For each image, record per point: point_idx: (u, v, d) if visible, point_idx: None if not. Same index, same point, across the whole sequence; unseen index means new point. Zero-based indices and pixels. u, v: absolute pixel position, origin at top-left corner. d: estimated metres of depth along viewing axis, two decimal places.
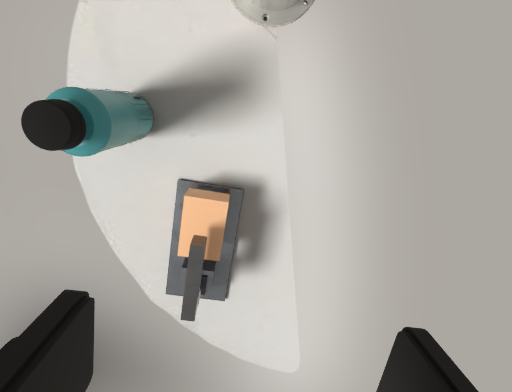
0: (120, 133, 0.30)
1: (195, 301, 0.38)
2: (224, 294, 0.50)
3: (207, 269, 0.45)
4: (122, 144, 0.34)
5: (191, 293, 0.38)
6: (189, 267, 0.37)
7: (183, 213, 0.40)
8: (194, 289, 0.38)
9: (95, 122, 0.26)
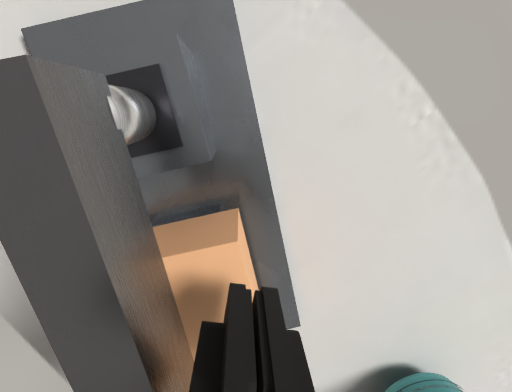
0: None
1: (9, 238, 0.06)
2: (37, 57, 0.14)
3: None
4: None
5: (63, 281, 0.06)
6: None
7: None
8: (57, 310, 0.06)
9: None
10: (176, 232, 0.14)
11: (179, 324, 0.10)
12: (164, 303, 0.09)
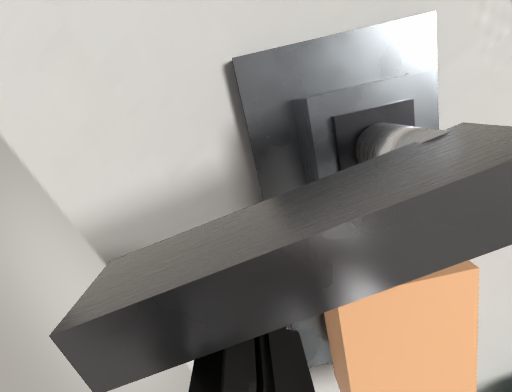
0: None
1: (422, 204, 0.06)
2: (242, 85, 0.15)
3: None
4: None
5: (374, 253, 0.06)
6: (220, 339, 0.06)
7: (472, 383, 0.14)
8: (338, 249, 0.06)
9: None
10: None
11: None
12: None
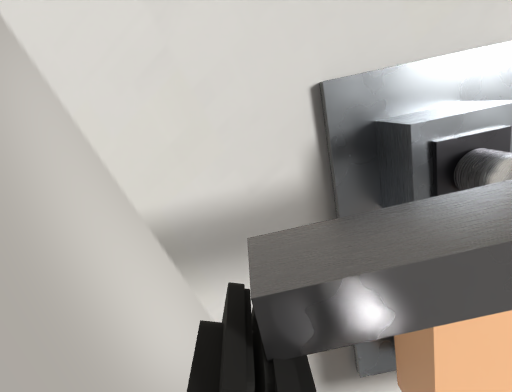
0: None
1: None
2: (329, 106, 0.15)
3: None
4: None
5: None
6: (401, 325, 0.07)
7: None
8: None
9: None
10: None
11: None
12: None
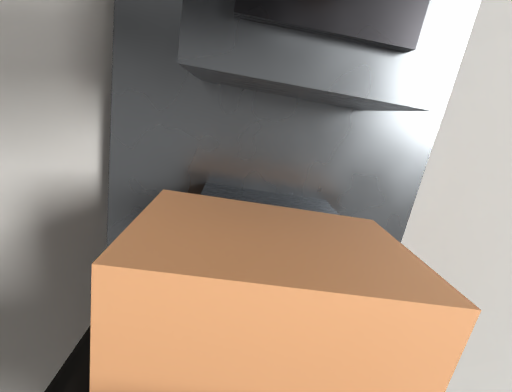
0: None
1: None
2: None
3: (240, 76, 0.06)
4: None
5: None
6: None
7: None
8: None
9: None
10: (278, 227, 0.07)
11: None
12: None
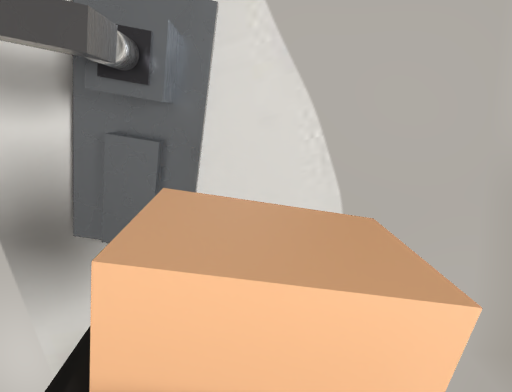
0: None
1: None
2: None
3: (105, 91, 0.20)
4: None
5: None
6: None
7: None
8: None
9: None
10: (279, 225, 0.07)
11: None
12: None
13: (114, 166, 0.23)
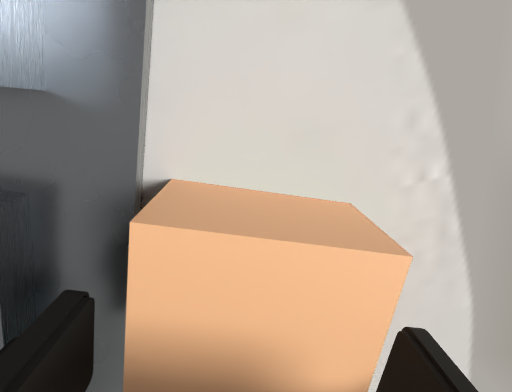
0: None
1: None
2: None
3: None
4: None
5: None
6: None
7: None
8: None
9: None
10: (267, 204, 0.08)
11: None
12: None
13: None
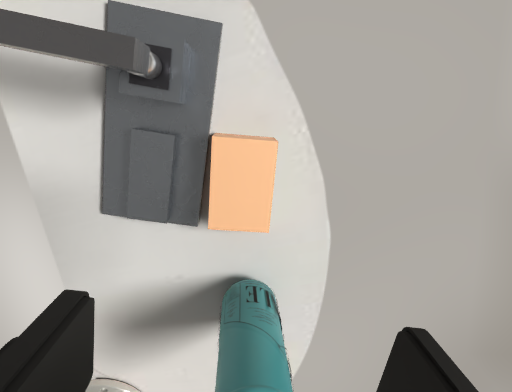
0: (217, 381, 0.23)
1: (80, 29, 0.17)
2: (110, 17, 0.26)
3: (134, 95, 0.25)
4: (237, 326, 0.26)
5: (59, 37, 0.17)
6: None
7: (269, 208, 0.28)
8: (48, 28, 0.17)
9: None
10: (244, 136, 0.29)
11: (25, 50, 0.20)
12: (40, 53, 0.19)
13: (138, 155, 0.28)
